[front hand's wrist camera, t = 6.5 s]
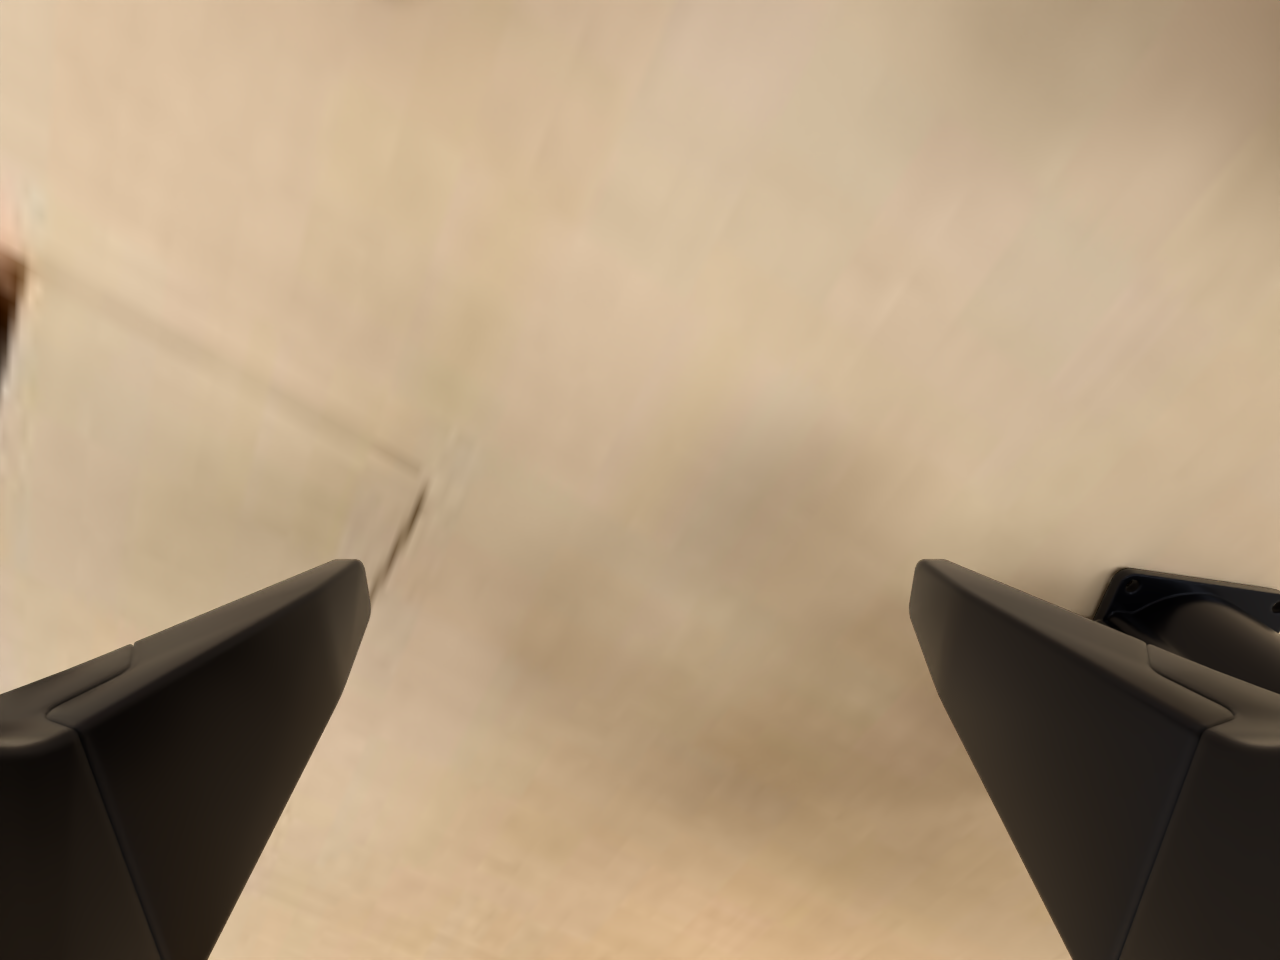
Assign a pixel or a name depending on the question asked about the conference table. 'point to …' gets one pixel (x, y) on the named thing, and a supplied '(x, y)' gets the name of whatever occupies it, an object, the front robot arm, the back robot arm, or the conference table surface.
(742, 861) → the conference table surface
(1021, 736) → the front robot arm
